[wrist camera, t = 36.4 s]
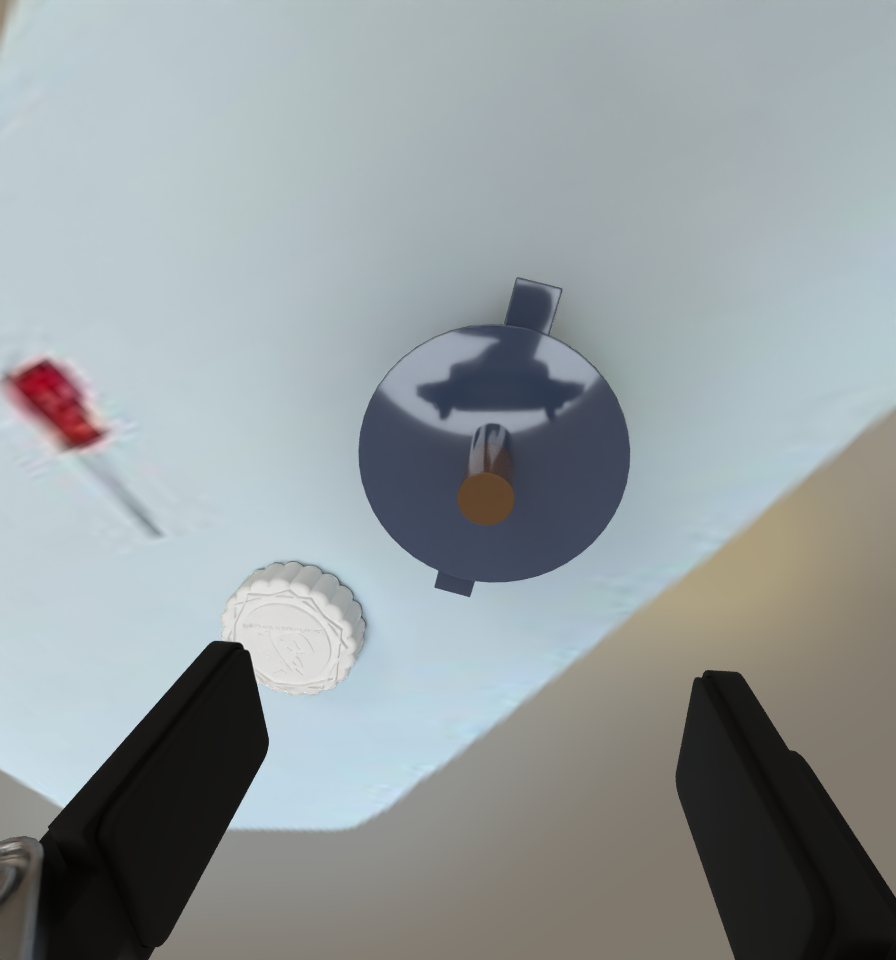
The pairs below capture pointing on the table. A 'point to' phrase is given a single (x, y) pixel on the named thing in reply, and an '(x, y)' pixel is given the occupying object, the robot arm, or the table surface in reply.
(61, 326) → the table surface
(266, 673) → the mooncake
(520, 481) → the lid
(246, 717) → the robot arm
